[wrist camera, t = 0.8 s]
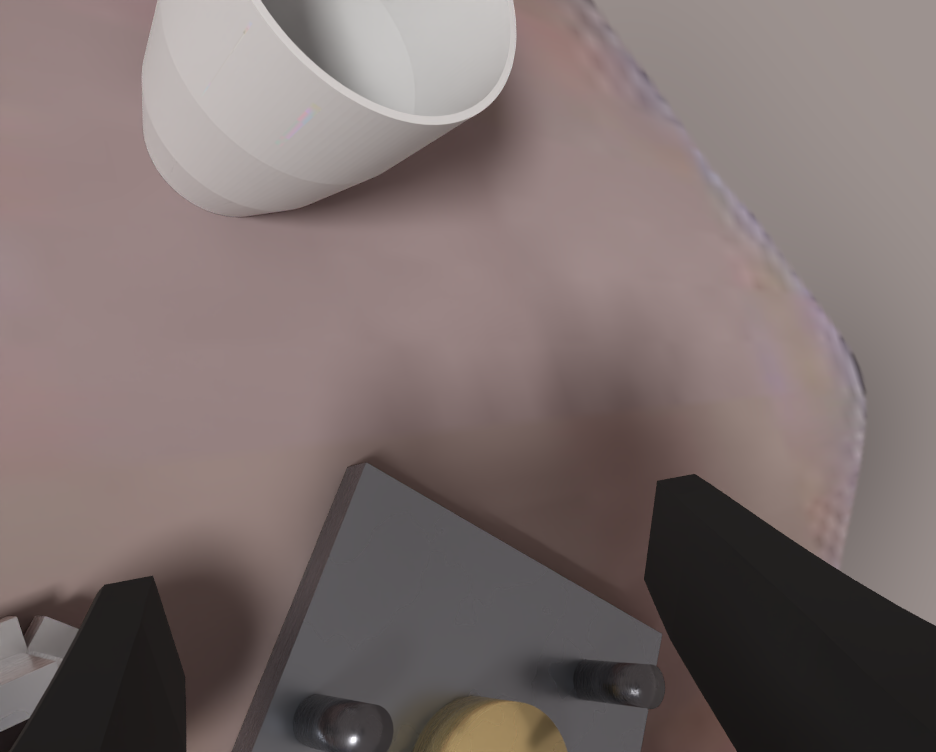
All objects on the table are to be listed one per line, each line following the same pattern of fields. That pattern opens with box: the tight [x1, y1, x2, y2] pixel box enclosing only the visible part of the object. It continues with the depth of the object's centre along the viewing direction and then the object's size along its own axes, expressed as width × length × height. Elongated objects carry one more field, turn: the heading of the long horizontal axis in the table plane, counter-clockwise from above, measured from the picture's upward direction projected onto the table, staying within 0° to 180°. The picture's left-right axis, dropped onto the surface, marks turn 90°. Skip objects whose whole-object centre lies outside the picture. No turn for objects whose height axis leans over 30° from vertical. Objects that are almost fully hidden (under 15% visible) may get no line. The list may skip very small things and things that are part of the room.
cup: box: [142, 0, 516, 217], centre depth 23 cm, size 8×8×10 cm
